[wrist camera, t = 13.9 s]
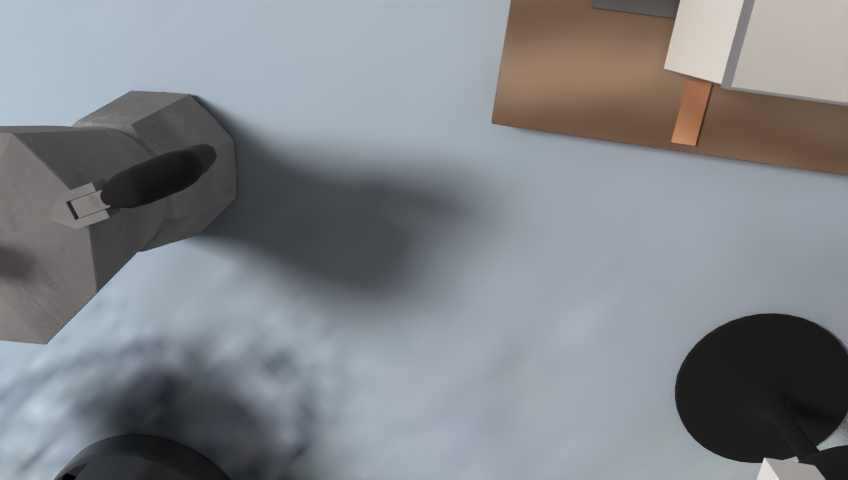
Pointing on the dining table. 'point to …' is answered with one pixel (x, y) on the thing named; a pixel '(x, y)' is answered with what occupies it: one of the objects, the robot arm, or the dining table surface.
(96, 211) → the coffeepot
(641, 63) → the brown flat wooden board
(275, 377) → the dining table surface
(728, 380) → the wine glass
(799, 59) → the fader
